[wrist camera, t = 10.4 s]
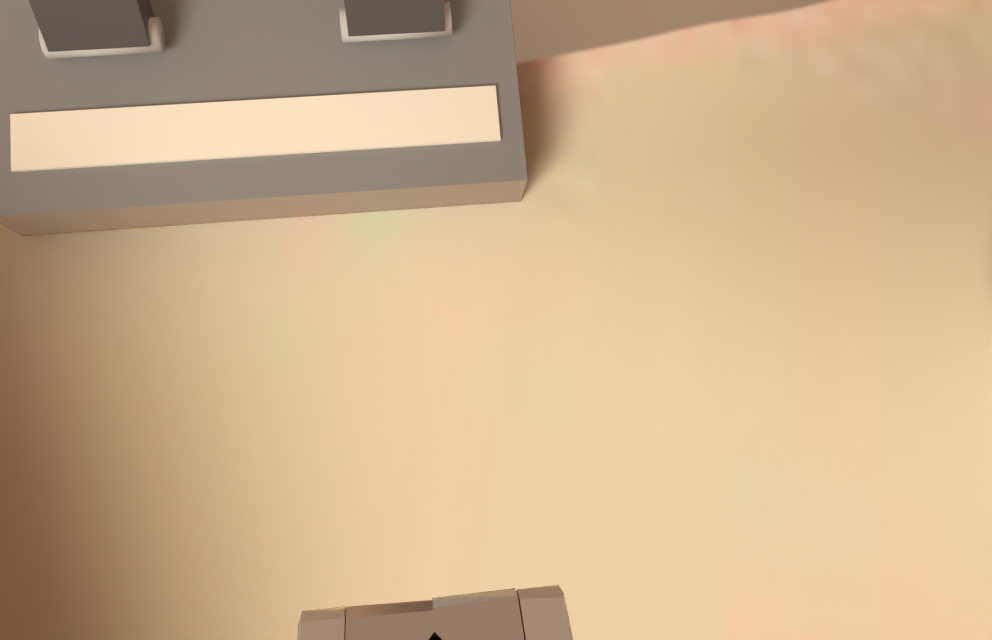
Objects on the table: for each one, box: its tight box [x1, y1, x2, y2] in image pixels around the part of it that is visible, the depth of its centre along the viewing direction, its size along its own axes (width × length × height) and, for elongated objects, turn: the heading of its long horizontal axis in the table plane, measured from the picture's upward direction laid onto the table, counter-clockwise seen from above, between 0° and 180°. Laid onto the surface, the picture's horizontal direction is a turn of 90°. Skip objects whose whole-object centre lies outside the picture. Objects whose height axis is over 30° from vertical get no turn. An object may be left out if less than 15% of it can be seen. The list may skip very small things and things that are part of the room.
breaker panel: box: [0, 0, 528, 236], centre depth 41 cm, size 22×16×3 cm
